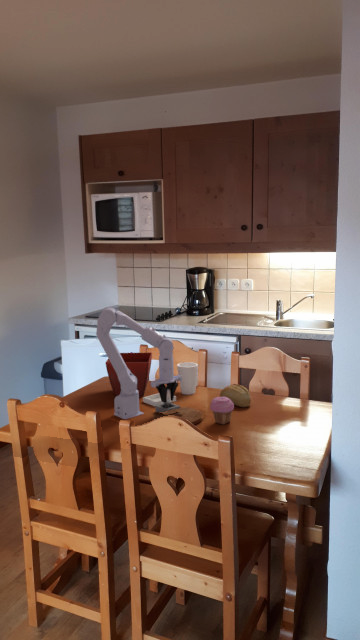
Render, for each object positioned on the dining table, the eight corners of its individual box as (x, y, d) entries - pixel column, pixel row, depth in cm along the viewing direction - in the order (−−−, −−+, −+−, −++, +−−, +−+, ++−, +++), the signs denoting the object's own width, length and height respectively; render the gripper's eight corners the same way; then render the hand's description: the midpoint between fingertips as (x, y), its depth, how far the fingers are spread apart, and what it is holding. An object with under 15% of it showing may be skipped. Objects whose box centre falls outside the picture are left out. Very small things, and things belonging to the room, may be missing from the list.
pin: (166, 409, 204) (166, 390, 203) (162, 408, 206) (161, 389, 205) (172, 408, 206) (172, 389, 205) (168, 406, 208) (167, 387, 207)
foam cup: (199, 389, 237) (198, 362, 235) (197, 395, 228) (197, 367, 226) (178, 389, 238) (178, 362, 236) (176, 395, 229) (175, 367, 227)
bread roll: (229, 397, 224) (229, 379, 223) (256, 404, 214) (256, 386, 212) (214, 402, 218) (214, 384, 217) (242, 410, 207) (242, 391, 206)
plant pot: (150, 399, 225) (148, 361, 222) (106, 399, 225) (105, 362, 223) (153, 386, 244) (152, 352, 241) (113, 387, 244) (111, 353, 242)
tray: (155, 407, 213) (155, 402, 213) (143, 402, 220) (142, 397, 219) (176, 401, 220) (176, 396, 220) (163, 397, 227) (163, 392, 226)
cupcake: (224, 428, 188) (224, 402, 186) (206, 423, 193) (205, 397, 192) (238, 421, 194) (238, 396, 193) (220, 416, 200) (219, 392, 199)
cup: (166, 417, 201) (166, 409, 201) (155, 412, 207) (155, 405, 206) (180, 412, 206) (179, 405, 205) (169, 408, 211) (168, 401, 211)
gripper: (158, 373, 196) (159, 407, 198) (186, 366, 205) (187, 399, 207) (147, 369, 201) (148, 403, 203) (175, 363, 210) (176, 395, 212)
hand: (167, 401), depth 206 cm, fingers closed on pin, 3 cm apart
